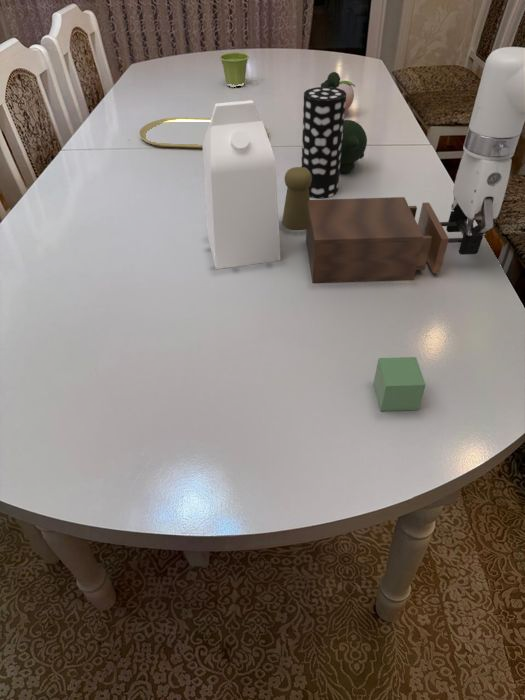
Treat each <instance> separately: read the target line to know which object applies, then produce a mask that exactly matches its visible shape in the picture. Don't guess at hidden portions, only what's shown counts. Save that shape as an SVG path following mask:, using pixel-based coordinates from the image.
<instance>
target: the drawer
mask: <svg viewBox="0 0 525 700" xmlns="http://www.w3.org/2000/svg"><path fill="white" fill-rule="evenodd" d="M408 206H409V208H410V210H411V212H412V214H413V216H414V218H415V219H416V215H417V211H418V206H417V205H408ZM417 224H418V227H419V229H420V231H421V233H422V235H423V241H422V245H421V249H420V253H419V258H418V262H417V266H416V271H417V270H418V271H419V270H422V271H423V270H424V271H425V269H426V264H428V266H429V268H430V270H431V272H432V274H440V273H441V269H442V264H443V262H444V259H445V255H446V251H447V247H448V244H458V243H460V244H461V241H462V238H463V237H449V236H448V234H447V233H446V230H445V229H444V227H447V226H458V228H459V230H460V231H461V232H460V233H461V235H462V236H463V235H464V233H467V225H468V221H467V222H466V221H465V219H463V218H461V219H459V220H458V221H457V222H448V221H440V219H439V218H438V216H437V215H436V213H435V211H434V208H433V206H432V204H430V202H422V204H421V209H420V212H419V218H418V223H417Z"/></svg>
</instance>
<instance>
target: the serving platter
mask: <svg viewBox="0 0 525 700" xmlns="http://www.w3.org/2000/svg"><path fill="white" fill-rule="evenodd" d="M210 120H211V117H184V116H183V117H168V118H162V119H157V120H154V121H151V122H149V123H147V124H145V125H144V126H142V127H141V128H140V130H139V131H138V134H139V135H138V136H139V138H140V139H141V140H143V141H144V142H145V143H146V144H149V145H152V146H154V147H155V146H156V147H161V148H183V149H203V145H198V144H172V143H171V144H170V143H156V142H151V141H148V140H147V139H146V133H147V131H149V130H150V129H152V128H153V127H156V126H157V125H160V124H162V123H172V122H210ZM264 127H265V130H266V133H267V134H268V132H269V130H268V128H267V126H266V125H264Z"/></svg>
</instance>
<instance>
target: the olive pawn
mask: <svg viewBox="0 0 525 700" xmlns="http://www.w3.org/2000/svg"><path fill="white" fill-rule="evenodd" d="M311 182H312V175H311V173H310V171H309V170H308V169H306V168H303V167H301V166H295V167H291V168H289V169H288V170H287V171H286V172H285V175H284V184H285V186H286V187H287V188H286V195H285V201H284V208H283V213H282V220H281V223H282V225H283V227H285V228H286V229H289V230H292V231H301V230H305V229H306V226H307V205H308V204H307V203H308V200H311V199H310V198H311V197H309V186H310V185H311Z"/></svg>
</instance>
